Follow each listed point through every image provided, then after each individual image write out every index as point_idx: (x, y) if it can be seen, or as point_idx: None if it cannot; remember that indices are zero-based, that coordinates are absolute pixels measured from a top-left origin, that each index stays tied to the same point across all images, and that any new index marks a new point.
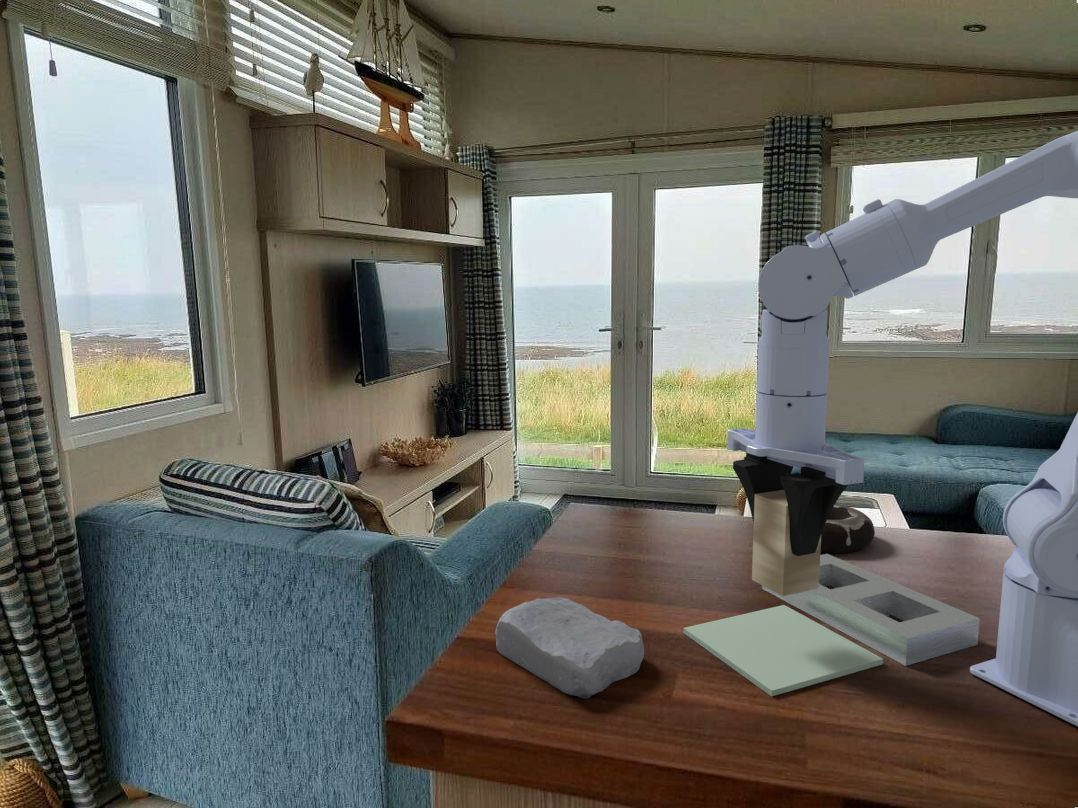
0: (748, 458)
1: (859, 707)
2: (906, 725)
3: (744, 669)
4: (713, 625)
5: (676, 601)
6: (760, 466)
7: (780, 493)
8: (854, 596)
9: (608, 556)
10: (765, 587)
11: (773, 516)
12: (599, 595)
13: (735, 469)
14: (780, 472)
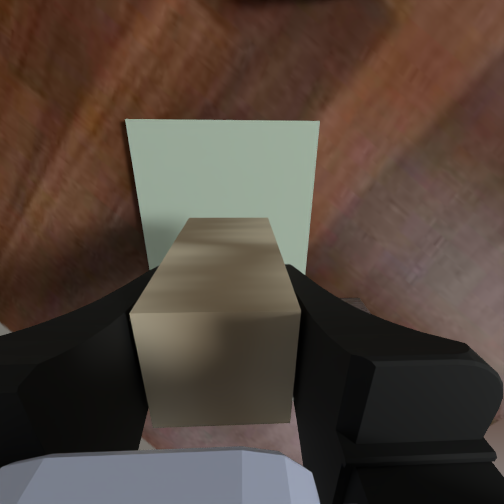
0: (458, 454)
1: (83, 200)
2: (42, 218)
3: (184, 123)
4: (303, 168)
5: (399, 176)
6: (344, 433)
7: (264, 378)
8: None
9: None
10: (354, 300)
11: (201, 282)
12: (496, 69)
13: (443, 343)
14: (314, 462)
